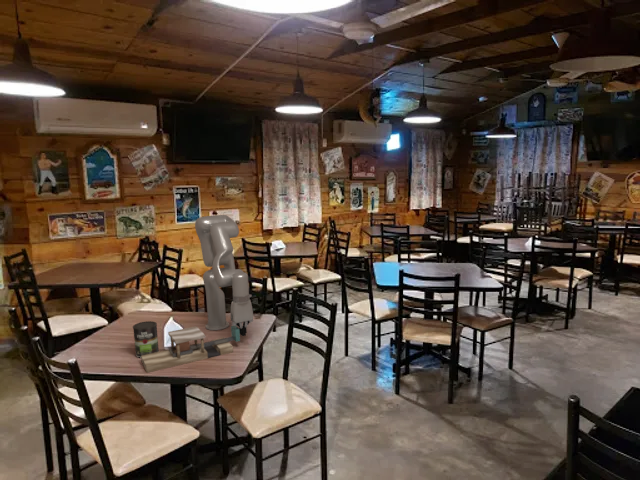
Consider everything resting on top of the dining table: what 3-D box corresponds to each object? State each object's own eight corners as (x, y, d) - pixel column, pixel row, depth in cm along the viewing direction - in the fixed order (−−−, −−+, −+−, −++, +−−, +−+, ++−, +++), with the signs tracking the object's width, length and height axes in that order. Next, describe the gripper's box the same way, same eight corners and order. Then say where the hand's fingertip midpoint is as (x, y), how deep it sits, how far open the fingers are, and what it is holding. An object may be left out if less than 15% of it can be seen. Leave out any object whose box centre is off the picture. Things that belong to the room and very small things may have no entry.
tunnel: (141, 361, 202) (139, 337, 200) (223, 343, 221) (222, 321, 219) (147, 373, 190) (144, 348, 188) (233, 352, 209) (232, 329, 207)
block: (176, 351, 204) (175, 340, 204) (187, 348, 207) (186, 338, 206) (178, 355, 200) (177, 344, 199) (190, 352, 203) (189, 341, 202)
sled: (168, 350, 205) (167, 338, 204) (234, 336, 220) (234, 324, 219) (173, 357, 197) (172, 344, 196) (241, 341, 213) (240, 329, 212)
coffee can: (158, 356, 207) (155, 327, 205) (134, 359, 204) (131, 329, 202) (160, 348, 217) (157, 320, 214) (137, 351, 214) (134, 322, 212)
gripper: (252, 294, 222) (254, 329, 225) (223, 299, 214) (225, 336, 217) (258, 297, 216) (260, 334, 218) (228, 303, 208) (231, 341, 211)
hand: (243, 335), depth 218 cm, fingers closed
